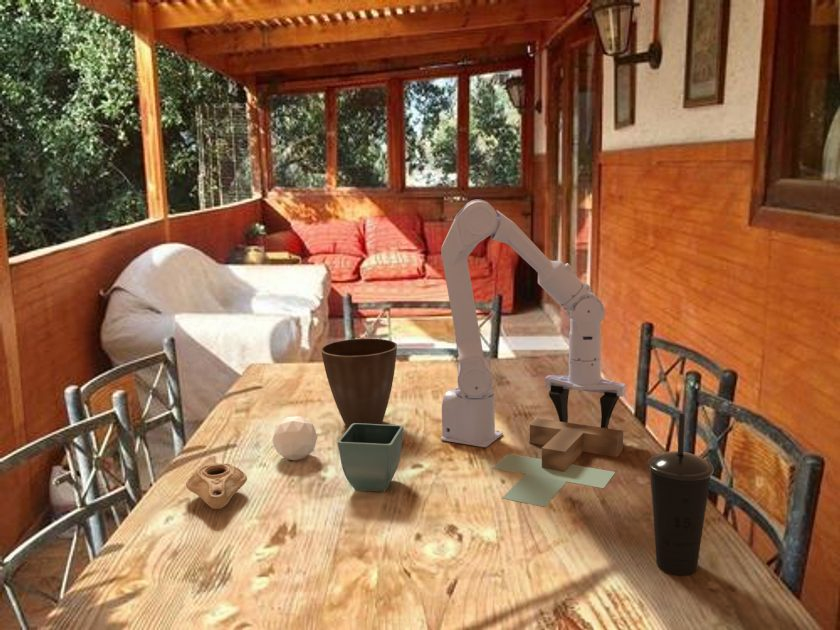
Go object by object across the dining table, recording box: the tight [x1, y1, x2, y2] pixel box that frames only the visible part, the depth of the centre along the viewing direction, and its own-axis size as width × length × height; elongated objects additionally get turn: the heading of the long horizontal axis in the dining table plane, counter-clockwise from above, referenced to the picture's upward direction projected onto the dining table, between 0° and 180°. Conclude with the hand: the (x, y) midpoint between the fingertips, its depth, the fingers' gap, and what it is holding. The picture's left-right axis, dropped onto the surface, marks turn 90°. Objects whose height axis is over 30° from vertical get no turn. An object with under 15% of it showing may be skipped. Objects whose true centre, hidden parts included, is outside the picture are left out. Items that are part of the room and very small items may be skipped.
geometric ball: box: [272, 416, 318, 461], centre depth 133 cm, size 8×8×8 cm
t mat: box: [492, 453, 616, 508], centre depth 121 cm, size 19×17×1 cm
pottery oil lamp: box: [185, 462, 248, 510], centre depth 116 cm, size 9×12×7 cm
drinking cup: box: [647, 413, 715, 577], centre depth 93 cm, size 8×8×20 cm
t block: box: [529, 417, 624, 472], centre depth 131 cm, size 16×14×4 cm
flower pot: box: [337, 423, 404, 492], centre depth 120 cm, size 9×9×9 cm
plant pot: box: [320, 337, 398, 429], centre depth 149 cm, size 15×15×16 cm
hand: (583, 428), depth 139 cm, fingers open, 7 cm apart
